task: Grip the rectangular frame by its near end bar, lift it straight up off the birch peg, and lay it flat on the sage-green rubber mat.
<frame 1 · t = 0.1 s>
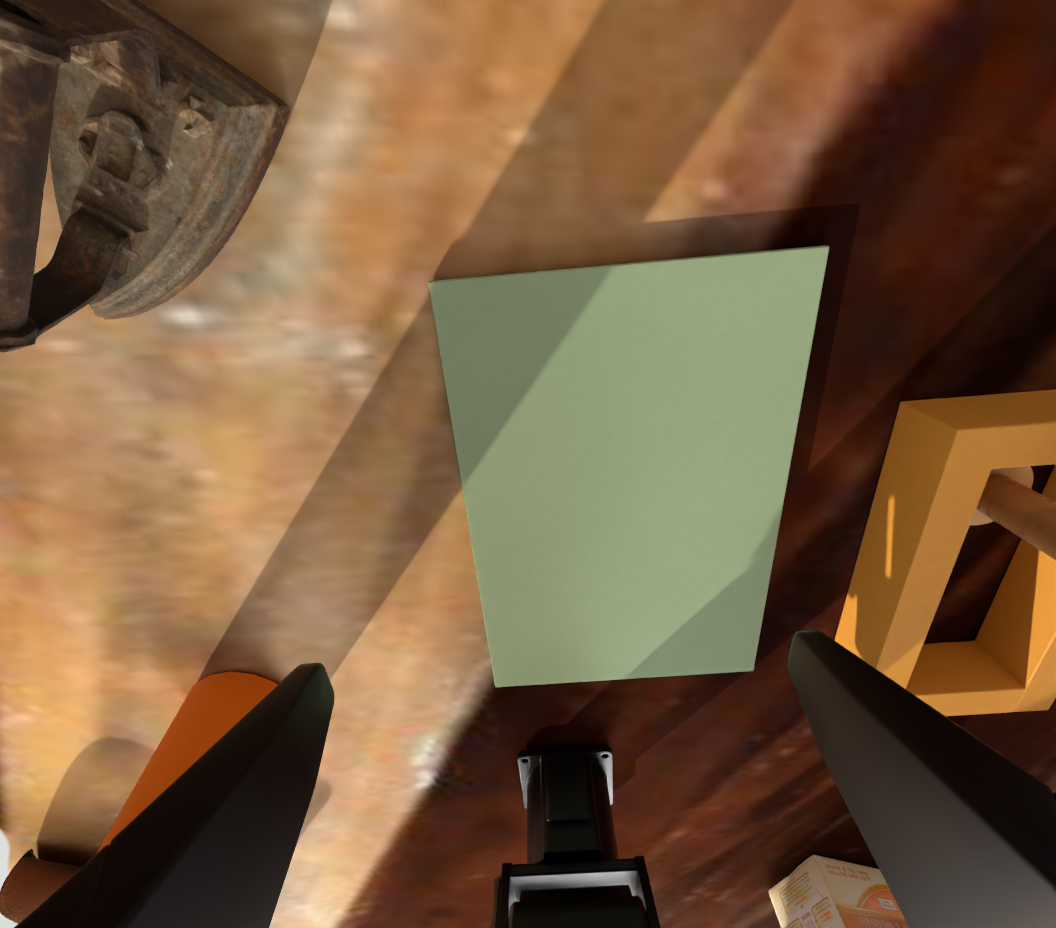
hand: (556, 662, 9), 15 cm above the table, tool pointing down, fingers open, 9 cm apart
clothes iron: (154, 193, 19), on the table
sunglasses case: (155, 879, 42), on the table
rectangular frame: (955, 550, 26), on the table
mat: (623, 512, 25), on the table
coffeecake box: (857, 884, 43), on the table
peg stand: (979, 486, 25), on the table
spray bottle: (219, 697, 31), on the table
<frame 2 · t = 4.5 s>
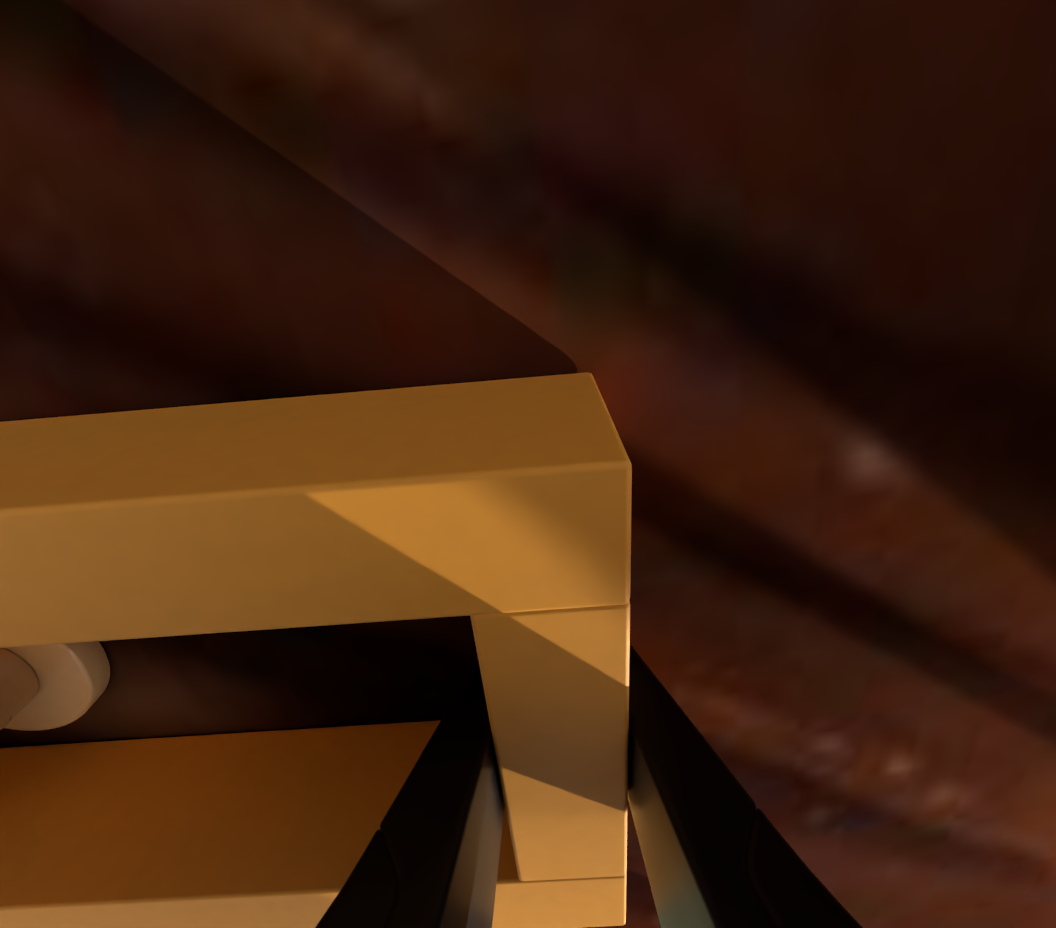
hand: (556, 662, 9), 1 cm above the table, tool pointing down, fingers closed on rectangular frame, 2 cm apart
rectangular frame: (190, 636, 11), on the table, touching gripper
peg stand: (15, 649, 11), on the table
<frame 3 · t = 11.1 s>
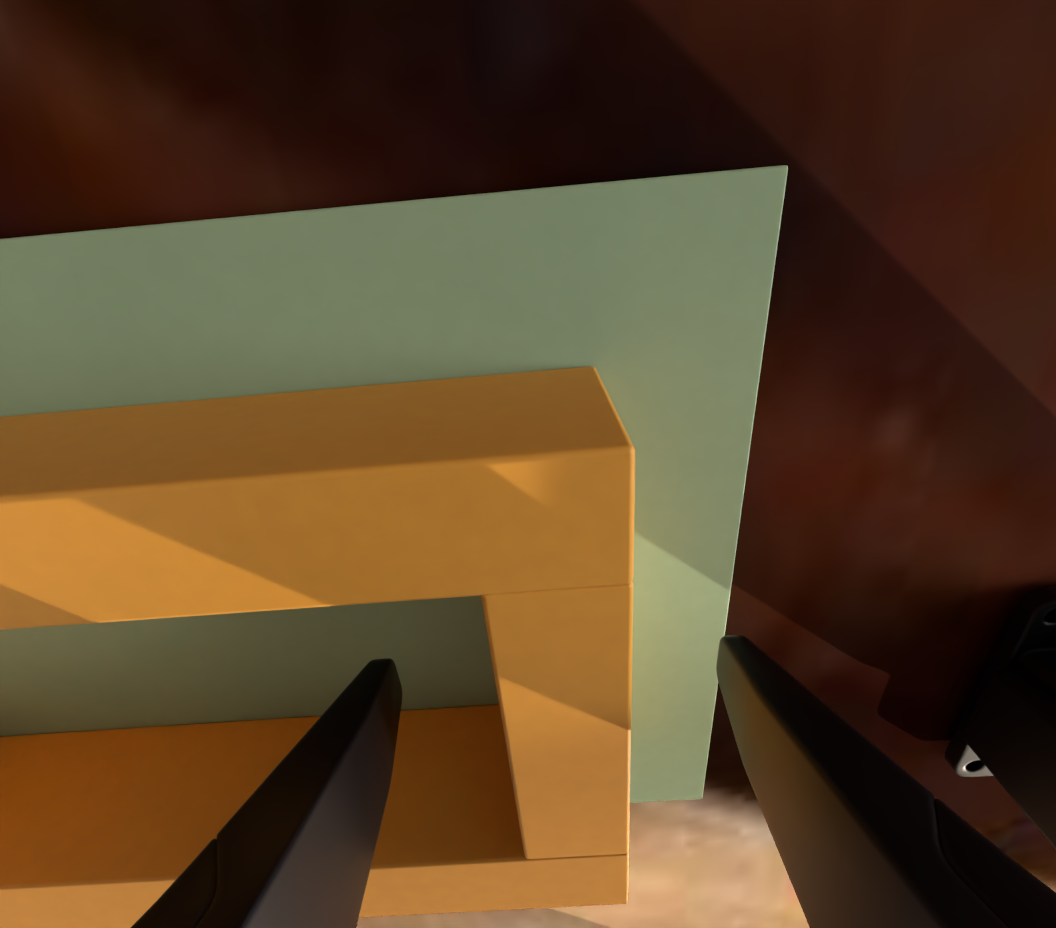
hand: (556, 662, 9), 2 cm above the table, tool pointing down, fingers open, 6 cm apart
rectangular frame: (204, 625, 11), resting on mat
mat: (208, 613, 11), on the table
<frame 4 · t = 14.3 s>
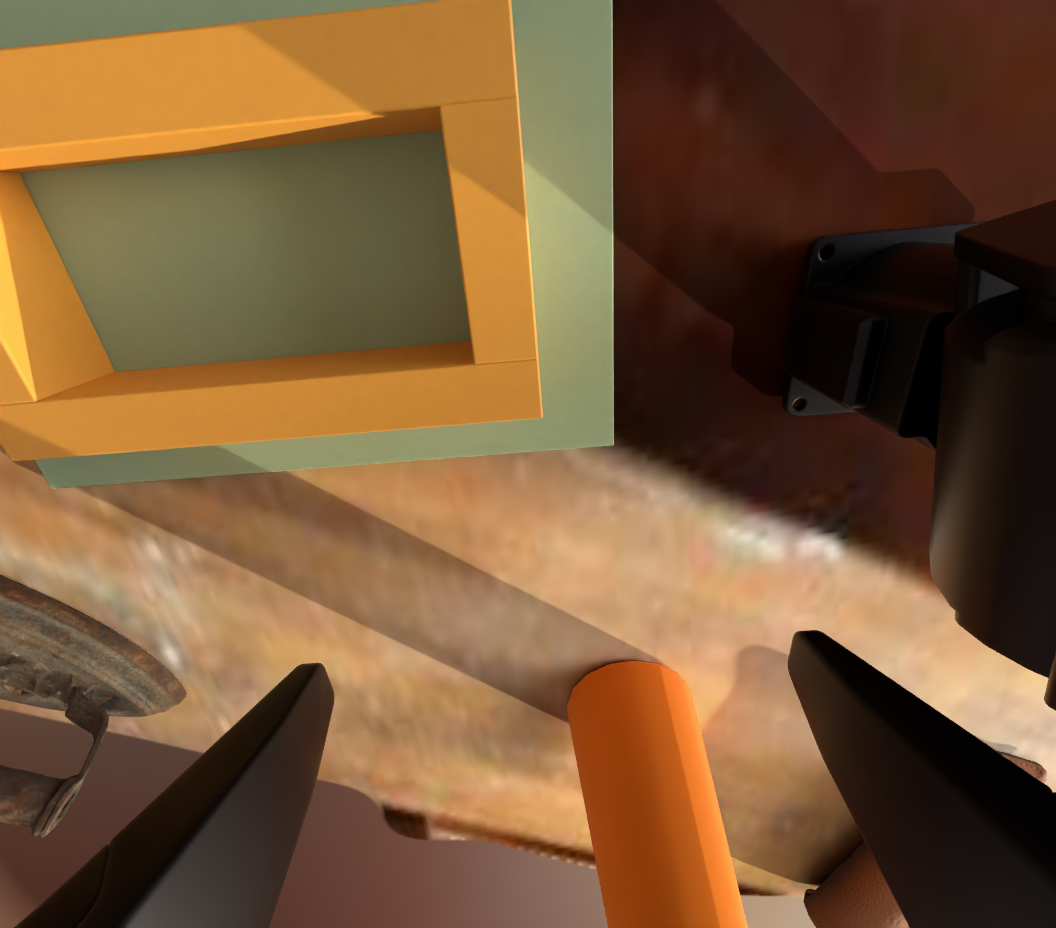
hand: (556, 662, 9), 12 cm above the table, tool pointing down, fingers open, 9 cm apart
clothes iron: (86, 651, 26), on the table
sunglasses case: (904, 823, 34), on the table
rectangular frame: (269, 262, 17), resting on mat
mat: (270, 261, 17), on the table
spray bottle: (613, 718, 29), on the table
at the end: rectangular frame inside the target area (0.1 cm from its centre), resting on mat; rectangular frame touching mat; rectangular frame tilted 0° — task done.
